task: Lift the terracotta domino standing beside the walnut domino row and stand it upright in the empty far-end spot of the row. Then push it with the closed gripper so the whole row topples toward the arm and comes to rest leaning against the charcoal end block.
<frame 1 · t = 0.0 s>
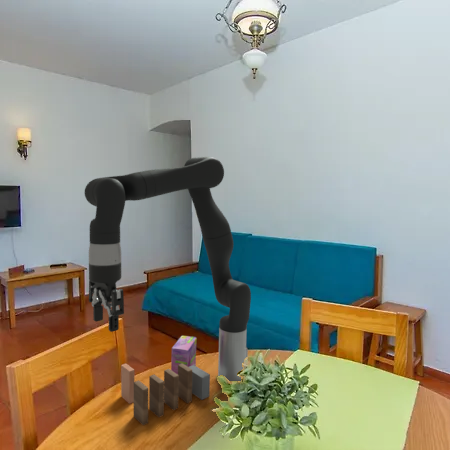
hand: (105, 325, 88), 29 cm above the table, tool pointing down, fingers open, 8 cm apart
domino 2: (156, 412, 101), on the table
domino 1: (140, 419, 98), on the table
domino 3: (170, 405, 105), on the table
domino 4: (184, 398, 108), on the table
box: (183, 376, 121), on the table
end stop: (197, 392, 111), on the table
domino end: (127, 399, 107), on the table
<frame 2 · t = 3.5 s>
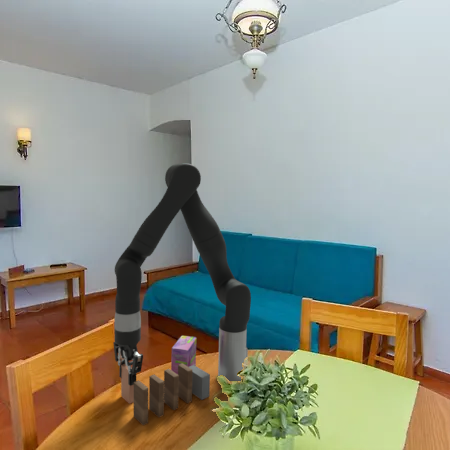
hand: (127, 380, 106), 6 cm above the table, tool pointing down, fingers closed on domino end, 5 cm apart
domino end: (127, 398, 107), on the table, touching gripper
everything else where it was.
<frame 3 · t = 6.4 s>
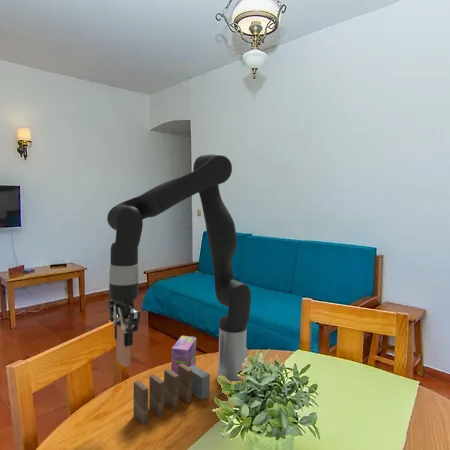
hand: (123, 341, 96), 22 cm above the table, tool pointing down, fingers closed on domino end, 5 cm apart
domino end: (123, 362, 97), point 16 cm above the table, touching gripper
everything else where it was.
when the fingers open (7 cm above the table, at t = 9.6 s): domino end stays where it is, on the table.
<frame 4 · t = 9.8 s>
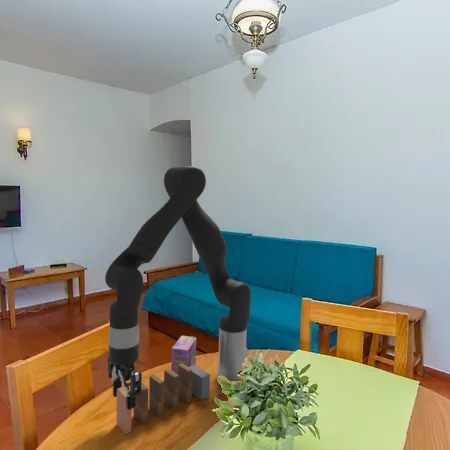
hand: (124, 401, 94), 7 cm above the table, tool pointing down, fingers open, 7 cm apart
domino end: (123, 427, 94), on the table
everything else where it was.
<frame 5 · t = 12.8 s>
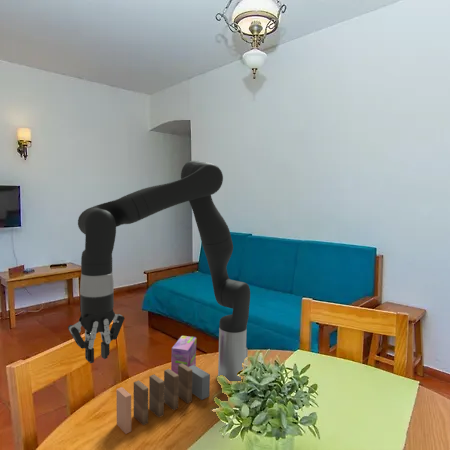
hand: (97, 359, 87), 21 cm above the table, tool pointing down, fingers open, 3 cm apart
nothing on the table moved.
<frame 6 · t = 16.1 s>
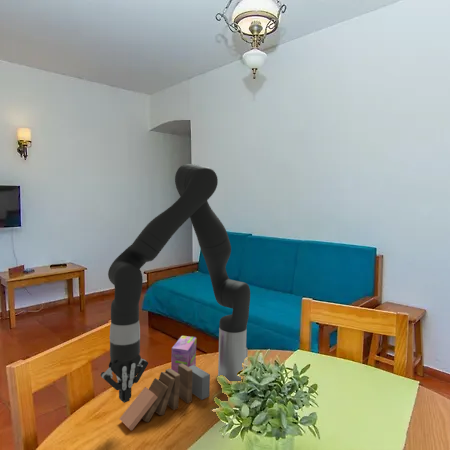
hand: (125, 400, 94), 7 cm above the table, tool pointing down, fingers closed
domino 2: (156, 410, 101), on the table, tilted 22°
domino 1: (141, 417, 98), point 1 cm above the table, tilted 39°
domino end: (125, 424, 94), point 1 cm above the table, tilted 52°
everything else where it was.
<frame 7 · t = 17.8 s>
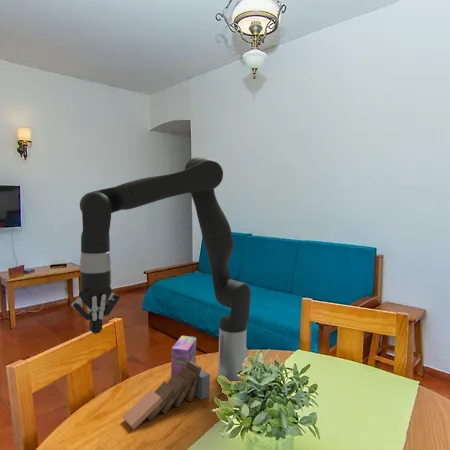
hand: (96, 332, 95), 25 cm above the table, tool pointing down, fingers closed
domino 2: (159, 408, 102), point 1 cm above the table, tilted 49°, touching domino 1, domino 3
domino 1: (144, 415, 98), point 1 cm above the table, tilted 58°, touching domino 2, domino end
domino 3: (172, 402, 105), on the table, tilted 36°, touching domino 2, domino 4
domino 4: (185, 397, 108), on the table, tilted 18°, touching domino 3, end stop
domino end: (127, 423, 95), point 1 cm above the table, tilted 65°, touching domino 1
everything else where it was.
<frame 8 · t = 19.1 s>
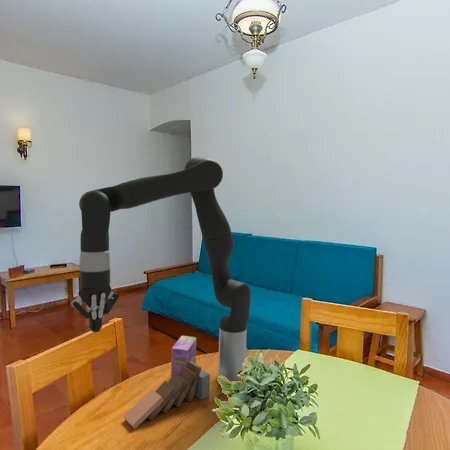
hand: (95, 331, 95), 25 cm above the table, tool pointing down, fingers closed
domino 4: (185, 397, 108), on the table, tilted 18°, touching domino 3, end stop
everything else where it was.
at the end: domino 4 tilted 18°; domino 4 touching domino 3, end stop, table; domino end moved 12.4 cm from its start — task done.
